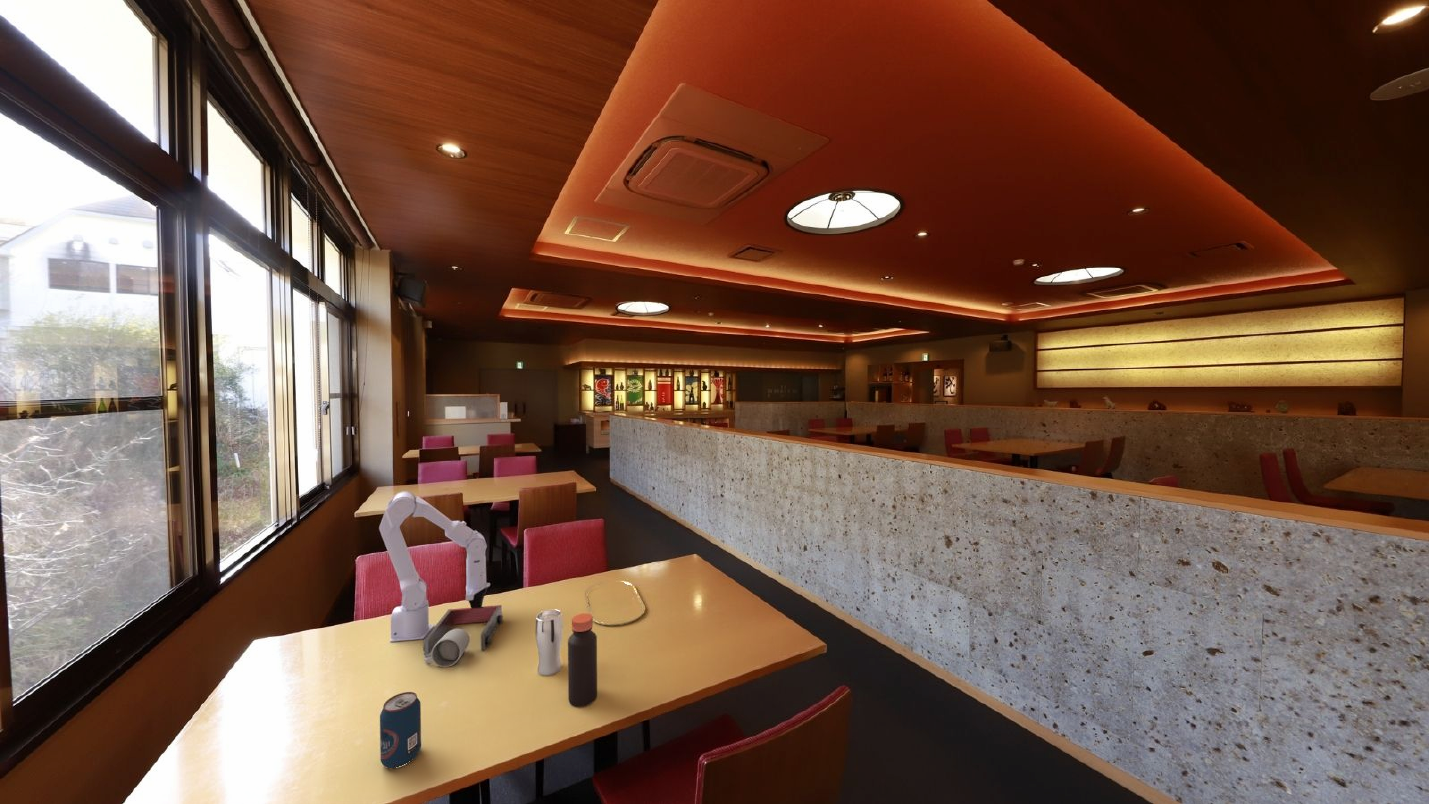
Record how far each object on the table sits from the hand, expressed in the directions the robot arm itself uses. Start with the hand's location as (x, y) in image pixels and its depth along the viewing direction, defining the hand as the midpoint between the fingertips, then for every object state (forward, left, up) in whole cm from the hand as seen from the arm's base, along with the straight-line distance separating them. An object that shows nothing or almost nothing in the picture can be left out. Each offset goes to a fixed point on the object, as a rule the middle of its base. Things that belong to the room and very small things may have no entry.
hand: (476, 612), depth 152 cm
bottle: (+38, -47, -3) cm, 61 cm away
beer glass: (+28, -33, -3) cm, 43 cm away
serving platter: (+44, +4, -3) cm, 44 cm away
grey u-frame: (0, -11, -2) cm, 11 cm away
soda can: (+3, -59, -3) cm, 59 cm away
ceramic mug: (-1, -23, -3) cm, 23 cm away
